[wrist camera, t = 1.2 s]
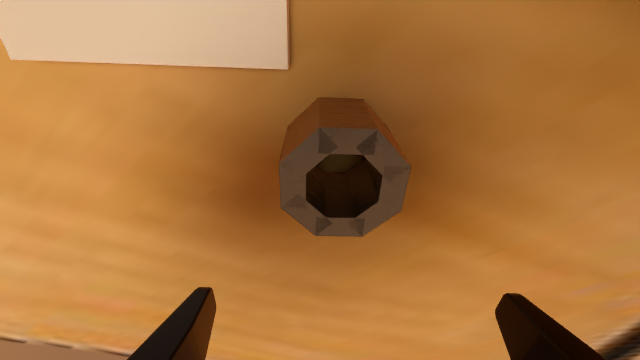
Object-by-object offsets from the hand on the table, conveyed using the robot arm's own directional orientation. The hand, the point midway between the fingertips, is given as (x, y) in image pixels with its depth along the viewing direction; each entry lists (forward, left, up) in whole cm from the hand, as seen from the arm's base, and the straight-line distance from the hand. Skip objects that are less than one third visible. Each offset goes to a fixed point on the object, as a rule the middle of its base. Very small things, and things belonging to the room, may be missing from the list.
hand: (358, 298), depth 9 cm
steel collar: (0, 0, -12) cm, 12 cm away
